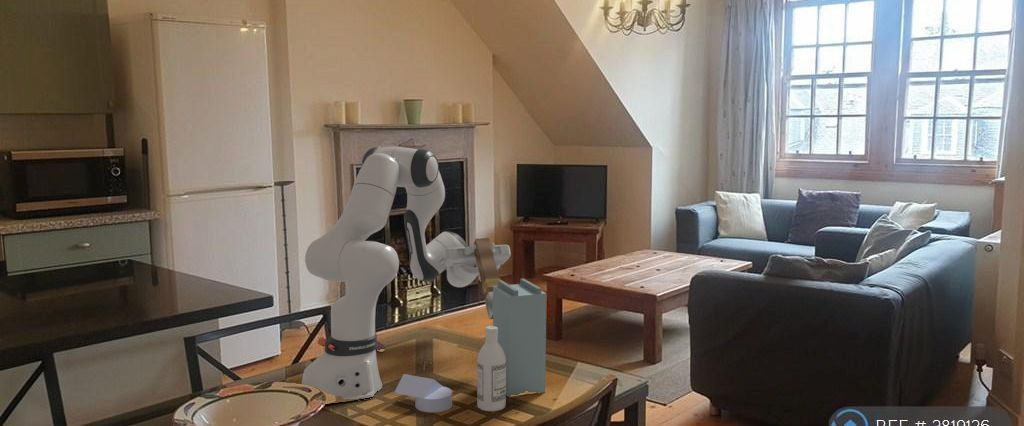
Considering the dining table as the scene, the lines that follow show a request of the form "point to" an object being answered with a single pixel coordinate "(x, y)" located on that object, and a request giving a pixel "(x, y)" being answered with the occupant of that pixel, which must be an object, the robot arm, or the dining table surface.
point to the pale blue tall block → (521, 334)
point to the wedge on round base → (425, 393)
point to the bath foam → (491, 373)
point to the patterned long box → (486, 271)
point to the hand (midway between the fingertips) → (483, 246)
